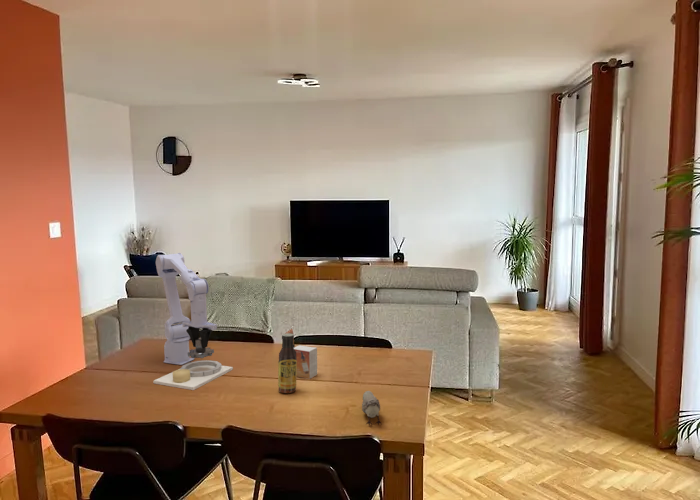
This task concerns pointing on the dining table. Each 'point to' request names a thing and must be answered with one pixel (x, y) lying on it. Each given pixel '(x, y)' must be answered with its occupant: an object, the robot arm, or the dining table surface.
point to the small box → (306, 361)
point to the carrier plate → (193, 379)
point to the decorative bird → (370, 406)
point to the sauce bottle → (287, 365)
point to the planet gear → (200, 350)
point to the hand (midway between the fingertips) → (200, 346)
